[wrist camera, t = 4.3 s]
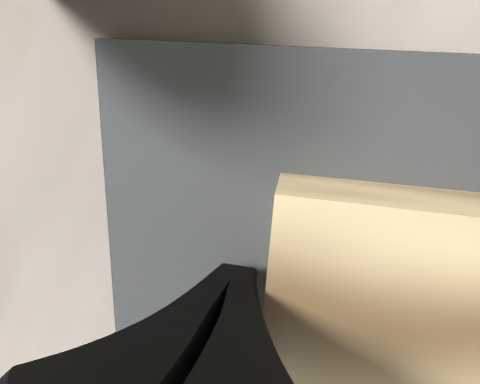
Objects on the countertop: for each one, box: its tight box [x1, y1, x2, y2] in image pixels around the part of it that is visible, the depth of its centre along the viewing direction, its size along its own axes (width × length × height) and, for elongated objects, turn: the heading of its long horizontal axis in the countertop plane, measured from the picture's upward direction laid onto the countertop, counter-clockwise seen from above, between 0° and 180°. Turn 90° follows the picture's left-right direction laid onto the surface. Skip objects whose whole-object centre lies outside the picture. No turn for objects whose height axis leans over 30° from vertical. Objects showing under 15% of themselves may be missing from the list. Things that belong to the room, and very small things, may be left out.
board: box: [94, 38, 480, 332], centre depth 12 cm, size 18×21×1 cm
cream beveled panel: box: [263, 173, 480, 384], centre depth 10 cm, size 8×8×2 cm
